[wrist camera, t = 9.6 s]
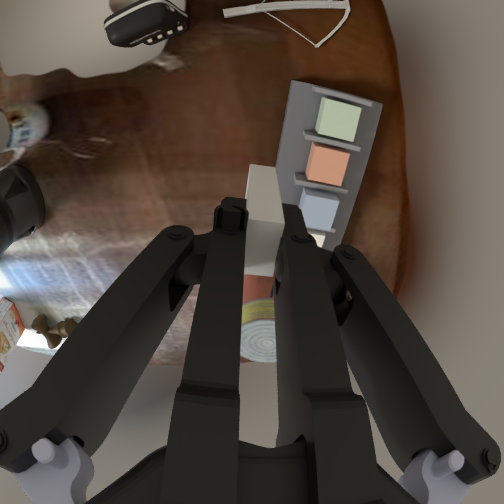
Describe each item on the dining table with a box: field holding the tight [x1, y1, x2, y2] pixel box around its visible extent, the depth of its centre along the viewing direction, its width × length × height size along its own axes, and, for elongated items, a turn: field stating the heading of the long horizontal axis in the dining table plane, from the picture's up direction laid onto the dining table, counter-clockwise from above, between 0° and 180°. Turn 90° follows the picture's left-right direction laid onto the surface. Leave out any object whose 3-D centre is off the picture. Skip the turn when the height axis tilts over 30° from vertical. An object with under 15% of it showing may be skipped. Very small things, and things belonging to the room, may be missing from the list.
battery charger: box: [104, 0, 189, 47], centre depth 23 cm, size 7×4×11 cm, turn 105°
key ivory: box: [307, 228, 325, 248], centre depth 41 cm, size 4×4×2 cm
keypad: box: [275, 80, 383, 252], centre depth 37 cm, size 12×25×5 cm, turn 172°
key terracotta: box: [305, 141, 350, 186], centre depth 34 cm, size 4×4×2 cm
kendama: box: [32, 315, 77, 349], centre depth 63 cm, size 6×10×20 cm
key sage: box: [315, 97, 362, 142], centre depth 30 cm, size 4×4×2 cm
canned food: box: [240, 269, 277, 363], centre depth 47 cm, size 11×11×12 cm
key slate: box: [299, 187, 339, 231], centre depth 36 cm, size 4×4×2 cm
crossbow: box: [223, 0, 350, 47], centre depth 25 cm, size 16×13×2 cm
